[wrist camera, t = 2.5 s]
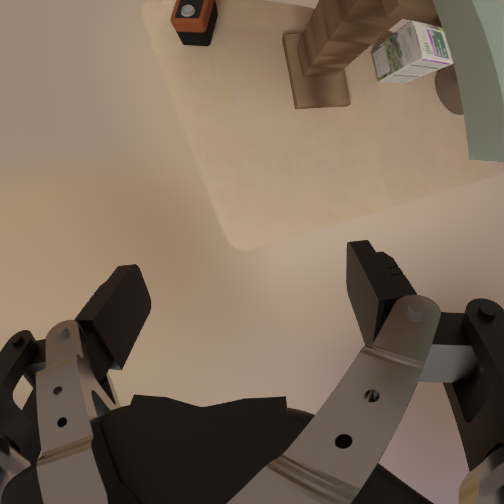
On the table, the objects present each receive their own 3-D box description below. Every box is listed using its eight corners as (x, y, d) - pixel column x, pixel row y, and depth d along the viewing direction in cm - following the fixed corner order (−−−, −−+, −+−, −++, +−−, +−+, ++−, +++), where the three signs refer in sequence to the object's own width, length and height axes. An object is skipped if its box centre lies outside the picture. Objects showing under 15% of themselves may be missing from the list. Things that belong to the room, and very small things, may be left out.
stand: (331, 38, 36) (434, -85, 5) (346, 106, 39) (500, 37, 9) (282, 39, 36) (335, -113, 5) (295, 109, 40) (398, 5, 9)
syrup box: (406, 84, 38) (458, 63, 24) (376, 82, 38) (423, 57, 24) (399, 54, 36) (446, 26, 22) (369, 51, 36) (411, 17, 23)
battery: (218, 13, 34) (212, -20, 25) (210, 47, 36) (201, 19, 27) (191, 11, 34) (180, -20, 25) (182, 45, 36) (167, 18, 26)
